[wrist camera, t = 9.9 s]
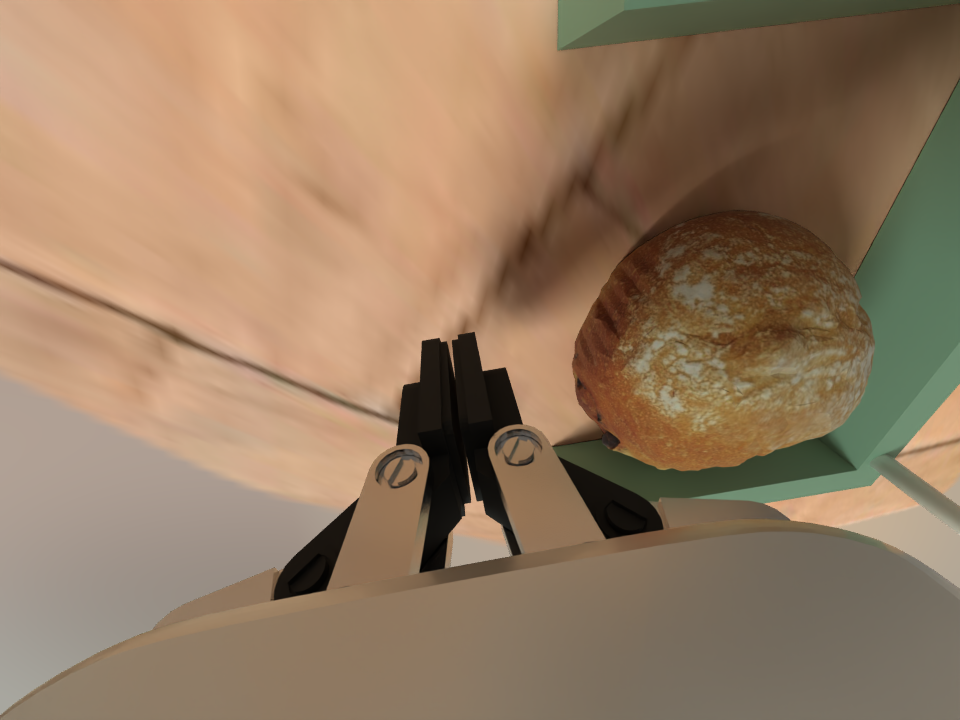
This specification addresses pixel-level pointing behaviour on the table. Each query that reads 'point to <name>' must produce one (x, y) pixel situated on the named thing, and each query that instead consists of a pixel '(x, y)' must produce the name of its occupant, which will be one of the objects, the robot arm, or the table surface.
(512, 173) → the table surface
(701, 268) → the bread roll
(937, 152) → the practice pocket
